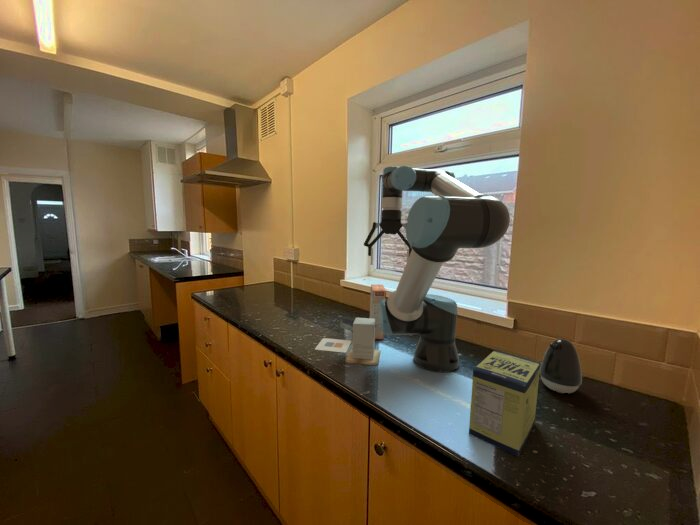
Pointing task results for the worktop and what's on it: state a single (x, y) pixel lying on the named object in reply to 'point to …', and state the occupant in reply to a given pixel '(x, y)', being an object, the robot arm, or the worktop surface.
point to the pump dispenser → (561, 367)
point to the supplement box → (363, 338)
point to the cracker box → (377, 307)
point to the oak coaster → (364, 361)
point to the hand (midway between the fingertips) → (389, 265)
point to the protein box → (504, 400)
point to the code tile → (333, 345)
